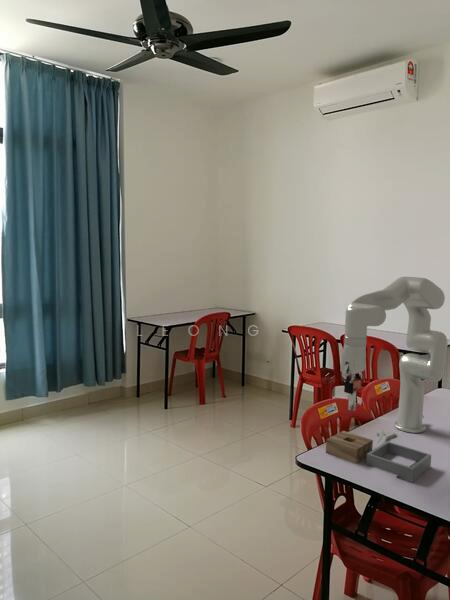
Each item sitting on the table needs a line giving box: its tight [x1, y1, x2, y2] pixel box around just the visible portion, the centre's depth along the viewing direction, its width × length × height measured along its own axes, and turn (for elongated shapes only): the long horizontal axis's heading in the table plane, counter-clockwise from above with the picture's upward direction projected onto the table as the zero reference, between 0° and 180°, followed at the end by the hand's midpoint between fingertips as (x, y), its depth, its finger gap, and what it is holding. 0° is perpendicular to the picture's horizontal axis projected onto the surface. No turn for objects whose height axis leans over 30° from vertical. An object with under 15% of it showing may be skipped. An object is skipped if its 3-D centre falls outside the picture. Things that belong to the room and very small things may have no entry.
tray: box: [365, 440, 432, 484], centre depth 166 cm, size 16×16×4 cm
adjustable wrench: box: [373, 428, 396, 449], centre depth 187 cm, size 25×6×2 cm, turn 147°
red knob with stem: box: [347, 377, 362, 412], centre depth 172 cm, size 5×5×11 cm
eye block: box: [325, 430, 374, 464], centre depth 174 cm, size 12×12×6 cm
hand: (352, 390), depth 172 cm, fingers closed on red knob with stem, 5 cm apart
